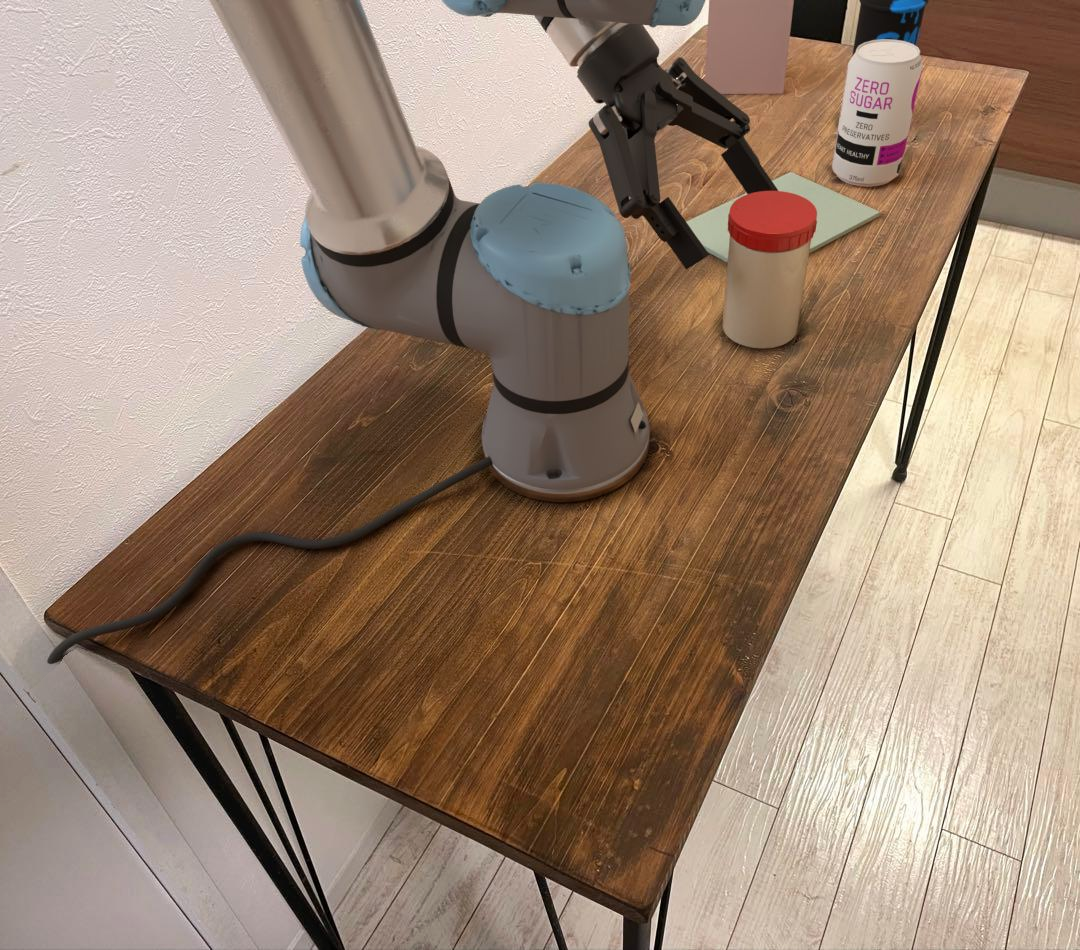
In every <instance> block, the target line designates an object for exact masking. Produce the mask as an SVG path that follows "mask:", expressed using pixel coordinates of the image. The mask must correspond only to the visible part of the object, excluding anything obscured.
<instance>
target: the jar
mask: <svg viewBox="0 0 1080 950" xmlns="http://www.w3.org/2000/svg"><path fill="white" fill-rule="evenodd" d="M810 244H811V240H810V241H809V242H808V243H806V244H804V245H803V246H801V247H798V248H796V249H792V250H787V251H780V252H768V251H759V250H754V249H751V248H748V247H745V246H743V245H741V244H739V243H737V242H736V241H735V240H734V239H733V238H732V237H729V249H728V261H727V262H726V273H725V274H726V275H725V285H724V286H725V289H724V298H723V313H722V331H723V332H724V335H726V336H727V338H728V339H730V340H731V341H733V342H734V343H736V344H738V345H740V346H743V347H746V348H750V349H751V348H752V349H760V350H761V349H763V350H764V349H773V348H777V347H781V346H783V345H786V344H788V343H790V342H791V341H792V340H793V339H794V338H795V336H797V333H798V330H799V323H800V316H801V310H802V303H803V296H804V291H805V283H806V276H807V271H808V265H809V258H810V257H809V256H810V253H809V251H810Z"/></svg>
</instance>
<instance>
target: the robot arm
mask: <svg viewBox="0 0 1080 950" xmlns="http://www.w3.org/2000/svg"><path fill="white" fill-rule="evenodd" d="M441 1H442V3H443V4H444V5H445V6H446V7H447V8H449V10H451V11H452V12H454V13H456V14H457V15H458V14H459V15H462V16H465V17H483V18H489V17H491V16H493V15H496V14H510V15H511V14H512V15H523V16H533V17H534V18H535V19H536V21H537V22H538V23H539V25H540V26H541V27H542V29H543V30H544V32H545V33H546V34H547V36H548V37H549V38H550V39H551V41H552V42H553V44H554V45H555V47H556V48H557V49H558V51H559V52H560V54H561V55H562V56H563V58H564V60H566V62H567V64H568V66H570V67H573V68H574V67H578V68H577V71H576V73H577V75H576V77H577V79H578V81H579V82H580V83H581V85H582V86H583V88H584V89H585V90H586V91H587V93H588V94H589V96H590V98H591V100H593V101H594V102H595V103H596V104H597V105H601V104H605V105H604V106H602V108H600V109H599V110H598V111H597V112H596V113H595V114H594V115H593V117H591V118H590V120H588V127H589V128H590V131H591V132H592V133H593V136H594V137H595V139H596V140H597V142H598V144H599V148H600V151H601V154H602V158H603V161H604V164H605V167H606V168H605V169H606V171H607V175H608V178H609V181H610V185H611V188H612V192H613V194H614V198H615V202H616V204H617V209H618V212H619V214H620V216H621V217H623V218H625V219H628V218H630V217H631V218H632V219H634V220H638V219H640V218H641V217H643V218H644V219H645V220H646V221H647V223H648V224H649V226H650V227H651V229H652V230H653V231H654V233H655V234H656V235H657V237H658V238H659V240H661V241H662V242H663V243H666V244H667V245H668V246H669V248H670V249H671V250H672V252H673V253H674V255H675V256H676V258H677V259H678V260H679V262H680V264H681V265H682V266H683V267H684V269H685V270H686V271H687V270H688V269H690V268H692V267H694V266H695V265H697V264H698V263H699V262H701V261H703V260H704V259H706V258H707V257H708V256H709V255H710V253H709V252H707V251H706V249H705V248H704V246H703V245H702V244H701V242H700V241H699V239H698V238H697V237H696V235H695V234H694V232H693V231H692V229H691V228H690V227H689V225H688V224H687V221H686V220H685V218H684V217H683V215H682V214H681V212H680V211H679V210H678V208H677V207H676V206H675V204H674V203H673V201H672V200H671V199H670V197H669V196H667V197H666V198H665V199H663V200H662V201H661V190H660V181H659V172H658V171H659V170H658V161H657V151H656V141H655V140H656V139H655V138H656V136H657V133H658V132H659V131H661V130H663V129H664V128H666V127H667V126H669V127H674V126H677V127H680V128H682V129H684V130H686V131H688V132H690V133H692V134H694V135H696V136H698V137H699V138H702V139H704V140H706V141H708V142H709V143H712V144H714V145H716V146H718V147H720V148H723V149H724V151H723V152H722V153H721V154H720V156H721V158H722V160H723V161H724V162H725V164H726V165H727V166H728V168H729V169H730V171H731V172H732V174H733V175H734V176H735V178H736V180H737V181H738V183H739V184H740V186H741V187H742V189H744V191H745V193H747V194H750V193H754V192H760V191H778V189H777V188H776V186H775V185H774V183H773V182H772V179H771V178H770V176H769V174H768V173H767V172H766V170H765V169H764V167H763V166H762V164H761V162H760V159H759V157H758V155H757V154H756V153H755V151H754V150H753V148H752V147H751V145H750V143H749V142H748V141H747V139H746V138H745V136H746V135H747V134H749V132H750V131H751V126H750V123H751V119H750V116H749V115H748V114H747V113H745V111H743V110H742V109H740V108H739V107H738V106H737V105H736V104H734V103H733V102H732V101H731V100H729V99H728V98H727V97H725V96H724V94H720V93H719V92H718V91H717V90H715V89H714V88H713V87H711V86H710V85H709V84H708V83H706V82H705V79H703V78H702V77H701V76H699V75H698V74H696V73H695V71H694V70H693V69H692V67H691V66H690V65H689V63H688V62H687V61H686V60H685V58H683V57H680V56H679V57H677V58H676V59H675V60H674V61H673V62H671V64H670V65H669V66H668V67H667V68H666V69H663V67H662V66H661V65H660V64H659V63H658V58H659V55H660V47H659V46H658V45H657V43H656V42H655V40H654V39H653V38H652V36H651V34H650V33H649V31H648V29H646V27H645V26H649V28H652V29H655V28H656V27H657V26H662V27H663V26H665V27H668V26H669V27H686V26H688V25H690V24H692V23H693V22H694V21H696V20H697V19H698V17H699V16H700V15H701V12H702V11H703V7H704V5H705V3H706V0H441ZM209 3H210V5H211V6H212V8H213V10H214V12H215V14H216V16H217V17H218V19H219V21H220V23H221V25H222V27H223V29H224V31H225V33H226V35H227V36H228V38H229V41H230V42H231V44H232V46H233V48H234V50H235V51H236V54H237V56H238V57H239V59H240V61H241V63H242V64H243V66H244V68H245V70H246V72H247V74H248V76H249V78H250V80H251V81H252V84H253V85H254V88H255V89H256V91H257V93H258V95H259V96H260V98H261V100H262V103H263V104H264V106H265V108H266V110H267V112H268V114H269V115H270V117H271V119H272V121H273V123H274V124H275V126H276V128H277V130H278V132H279V134H280V136H281V138H282V140H283V141H284V144H285V145H286V148H287V149H288V151H289V153H290V155H291V157H292V159H293V160H294V162H295V164H296V166H297V168H298V169H299V171H300V173H301V175H302V178H303V179H304V181H305V183H306V185H307V186H308V189H309V190H310V193H309V195H308V197H307V201H306V203H305V210H304V213H305V215H304V218H303V222H302V224H301V229H300V237H299V246H300V247H301V248H304V250H305V253H304V256H302V257H301V259H300V263H301V268H302V271H303V275H304V278H305V281H306V282H307V285H308V287H309V289H310V291H311V292H312V294H313V295H314V297H315V298H316V300H317V301H318V302H319V303H320V305H322V306H323V307H324V308H325V309H326V310H327V311H329V312H330V313H331V314H333V315H335V316H337V317H339V318H341V319H344V320H347V321H350V322H352V323H354V324H356V325H359V326H361V327H364V328H368V329H372V330H373V329H374V330H378V331H379V330H381V331H388V332H391V333H397V334H402V335H405V336H411V337H414V338H419V339H423V340H429V341H433V342H437V343H443V344H448V345H451V346H457V347H460V348H465V349H468V350H469V349H470V350H474V351H476V352H477V351H478V352H482V353H485V354H487V355H489V359H490V360H489V361H490V365H491V370H492V380H493V385H492V388H491V392H490V397H489V400H488V405H487V409H486V414H485V416H484V419H483V422H482V426H481V427H482V430H481V446H482V451H483V459H481V460H479V461H477V462H475V463H474V464H471V465H470V466H468V467H466V468H464V469H462V470H460V471H459V472H456V473H455V474H452V475H451V476H449V477H447V478H445V479H443V480H441V481H440V482H437V483H436V484H435V485H433V486H431V487H429V488H427V489H425V490H424V491H422V492H420V493H418V494H417V495H415V496H413V497H411V498H409V499H407V500H405V501H404V502H402V503H399V504H398V505H396V506H395V507H393V508H391V509H389V510H387V511H386V512H385V513H382V514H381V515H379V516H378V517H376V518H375V519H373V520H371V521H370V522H367V523H366V524H363V526H360V527H358V528H356V529H354V530H352V531H349V532H347V533H344V534H341V535H337V536H334V537H333V536H332V537H329V538H322V539H307V538H300V537H293V536H290V535H286V534H285V535H284V534H280V533H275V532H267V531H254V532H253V531H252V532H248V533H243V534H240V535H237V536H236V535H235V536H233V537H231V538H229V539H227V540H225V541H223V542H221V543H220V544H218V545H216V546H215V547H214V548H213V549H211V550H209V552H208V553H207V554H206V555H205V556H204V557H203V558H202V559H201V561H199V563H197V565H196V566H195V568H194V569H193V571H192V572H191V573H190V575H189V576H188V577H187V579H186V580H185V581H184V582H183V583H182V584H181V585H180V587H179V588H178V589H177V590H176V591H175V592H174V593H173V594H172V595H171V596H170V597H169V598H167V599H166V600H164V601H163V602H162V603H160V604H159V605H157V606H155V607H153V608H151V609H150V610H147V611H145V612H143V613H140V614H137V615H135V616H132V617H128V618H127V617H126V618H123V619H119V620H115V621H112V622H111V621H110V622H106V623H103V624H99V625H95V626H91V627H88V628H85V629H82V630H79V631H77V632H75V633H73V634H71V635H69V636H67V637H66V638H65V639H63V640H62V641H61V642H60V643H59V644H58V645H57V646H55V648H53V650H52V651H51V652H50V654H49V656H48V657H47V660H46V662H47V664H49V665H52V664H55V663H57V662H58V661H59V660H60V659H61V658H62V657H63V655H64V654H65V653H66V652H67V651H68V650H70V648H72V647H74V646H75V645H77V644H79V643H81V642H83V641H86V640H88V639H92V638H94V637H98V636H99V637H100V636H102V635H106V634H107V635H108V634H111V633H115V632H119V631H123V630H128V629H131V628H134V627H138V626H141V625H145V624H146V623H148V622H151V621H154V620H155V619H157V618H159V617H161V616H163V615H164V614H166V613H167V612H169V611H170V610H172V609H173V608H174V607H176V606H177V605H178V604H179V603H180V602H181V601H182V600H183V599H184V598H185V597H186V596H187V595H188V594H189V593H190V591H192V590H193V588H194V587H195V585H196V584H197V583H198V582H199V580H200V579H201V577H202V576H203V575H204V574H205V572H206V571H207V570H208V569H209V567H211V565H212V564H213V563H214V562H215V561H216V560H217V559H218V558H219V557H220V556H222V555H223V554H224V553H226V552H228V551H229V550H231V549H233V548H236V547H238V546H240V545H244V544H246V543H252V542H268V543H275V544H279V545H284V546H288V547H294V548H298V549H304V550H305V549H307V550H323V549H329V548H334V547H338V546H342V545H345V544H348V543H351V542H354V541H356V540H358V539H360V538H363V537H364V536H366V535H368V534H370V533H372V532H374V531H376V530H377V529H379V528H381V527H382V526H384V525H386V524H387V523H388V522H390V521H392V520H394V519H395V518H396V517H398V516H400V515H402V514H404V513H405V512H407V511H410V510H411V509H413V508H415V507H417V506H419V505H420V504H423V503H424V502H426V501H428V500H430V499H432V498H433V497H435V496H437V495H438V494H440V493H442V492H444V491H445V490H447V489H449V488H451V487H452V486H455V485H456V484H458V483H460V482H462V481H464V480H466V479H468V478H470V477H472V476H473V475H475V474H478V473H479V472H481V471H483V470H484V469H486V468H488V470H489V471H490V473H491V474H492V475H493V477H494V478H495V479H496V480H497V481H498V482H499V483H500V484H502V485H503V486H504V487H506V488H507V489H508V490H511V491H513V492H514V493H517V494H518V495H521V496H523V497H527V498H529V499H534V500H537V501H542V502H548V503H549V502H550V503H573V502H582V501H586V500H591V499H594V498H598V497H601V496H603V495H606V494H608V493H610V492H613V491H615V490H616V489H618V488H620V487H622V486H623V485H625V484H626V483H627V482H629V481H630V480H631V479H632V478H633V477H634V476H635V475H636V474H637V473H638V472H639V471H640V470H641V468H642V466H643V465H644V463H645V461H646V459H647V457H648V454H649V452H650V451H649V450H650V436H651V435H650V434H651V433H650V429H651V428H650V421H649V417H648V414H647V411H646V408H645V406H644V404H643V402H642V399H641V397H640V394H639V392H638V390H637V388H636V385H635V383H634V379H633V378H632V375H631V373H630V371H629V370H630V361H629V359H630V358H629V357H630V288H631V278H632V275H631V266H630V263H629V258H628V249H627V248H628V246H627V237H626V233H625V230H624V227H623V224H622V222H620V220H619V219H618V218H617V217H616V214H615V213H614V212H613V210H612V209H611V207H609V206H608V205H607V204H605V203H604V202H603V201H602V200H600V199H599V198H597V197H596V196H594V195H592V194H590V193H588V192H586V191H583V190H581V189H578V188H575V187H572V186H568V185H563V184H557V183H550V182H532V183H530V185H529V186H527V187H526V186H522V185H521V184H513V185H510V186H505V187H503V188H500V189H497V190H496V191H493V192H492V193H490V194H489V195H487V196H486V197H484V198H483V200H481V202H480V203H479V202H474V201H467V200H461V199H459V198H458V197H457V196H456V194H455V191H454V188H453V186H452V182H451V180H450V178H449V177H450V176H449V175H448V172H447V169H446V168H445V166H444V163H443V161H441V160H440V158H439V157H438V156H436V155H435V154H434V153H433V152H432V151H430V150H428V149H426V148H424V147H421V146H418V145H416V143H415V140H414V137H413V135H412V132H411V130H410V127H409V124H408V122H407V119H406V116H405V114H404V112H403V109H402V106H401V104H400V101H399V97H398V96H397V93H396V91H395V88H394V85H393V83H392V80H391V77H390V75H389V71H388V69H387V67H386V64H385V61H384V59H383V56H382V53H381V51H380V49H379V46H378V43H377V41H376V37H375V35H374V33H373V30H372V28H371V24H370V22H369V20H368V17H367V14H366V12H365V9H364V7H363V4H362V2H361V0H209Z"/></svg>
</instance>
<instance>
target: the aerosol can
mask: <svg viewBox="0 0 1080 950" xmlns="http://www.w3.org/2000/svg"><path fill="white" fill-rule="evenodd" d="M859 3H860V5H859V12H858V19H857V23H856V31H855V36H854V41H853V49H852V55H851V58H852V57H853V55H854V54H855V52H856V49H857V48H858V46H859V45H861V44H863V43H865V42H869V41H872V40H881V39H891V40H900V41H905V42H908V43H911V44H914V45H915V46H917V47H918V42H919V37H920V32H921V28H922V22H923V17H924V14H925V8H926V6H927V4H928V3H929V0H859Z"/></svg>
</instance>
